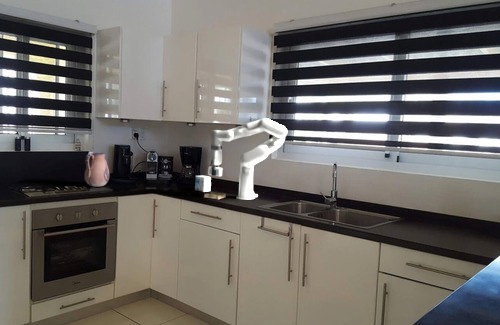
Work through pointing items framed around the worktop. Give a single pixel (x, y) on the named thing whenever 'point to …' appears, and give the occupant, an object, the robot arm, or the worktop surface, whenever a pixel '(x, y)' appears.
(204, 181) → the light bulb box
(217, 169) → the frame slab
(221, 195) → the oak board
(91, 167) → the ceramic pitcher
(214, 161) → the robot arm
